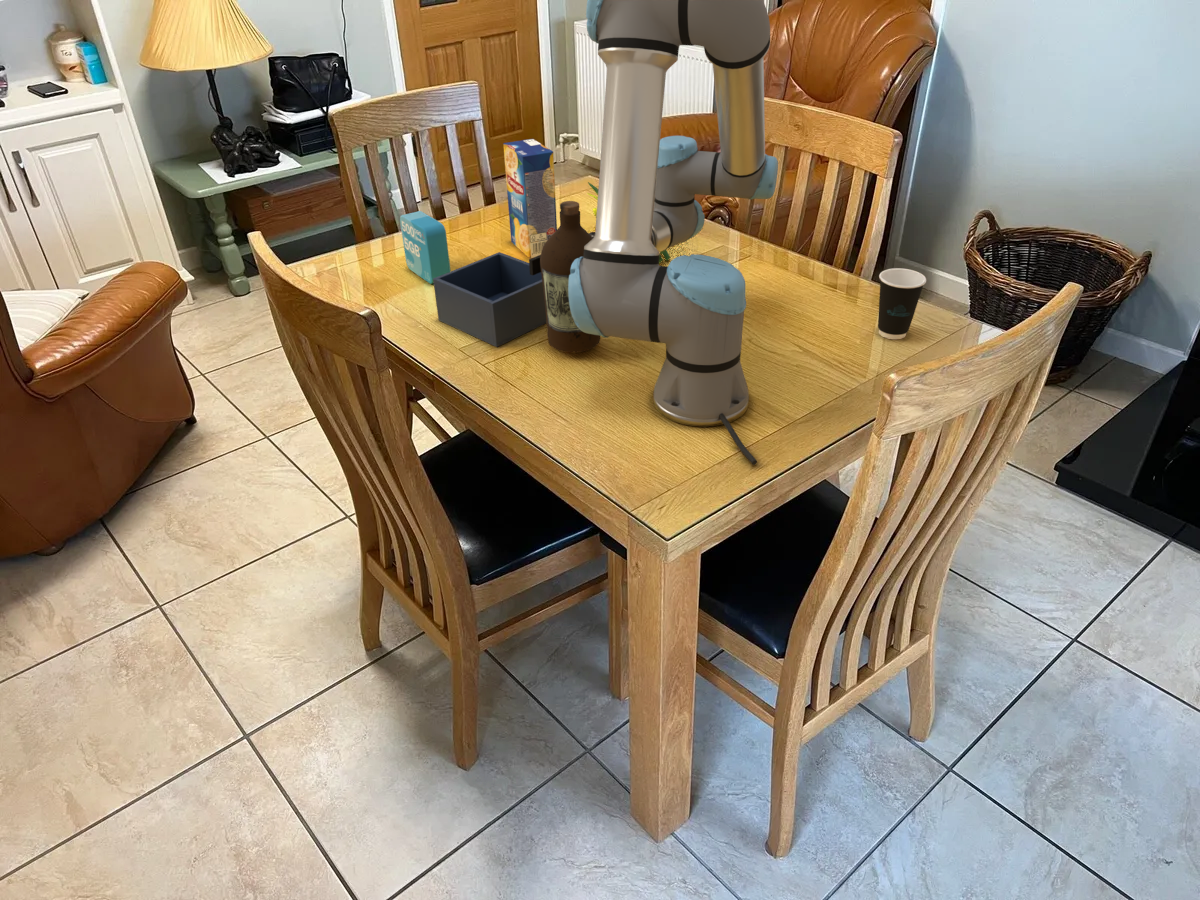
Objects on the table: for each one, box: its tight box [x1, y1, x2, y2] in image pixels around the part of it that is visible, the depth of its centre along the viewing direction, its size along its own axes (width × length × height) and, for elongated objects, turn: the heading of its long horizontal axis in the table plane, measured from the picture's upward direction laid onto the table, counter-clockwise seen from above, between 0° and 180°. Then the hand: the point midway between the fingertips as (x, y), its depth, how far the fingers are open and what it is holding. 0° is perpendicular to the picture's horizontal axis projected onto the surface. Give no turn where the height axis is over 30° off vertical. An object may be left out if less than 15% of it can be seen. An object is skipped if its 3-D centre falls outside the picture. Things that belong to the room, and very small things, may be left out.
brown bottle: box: [540, 200, 601, 353], centre depth 152 cm, size 11×11×25 cm
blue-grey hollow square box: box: [432, 251, 547, 348], centre depth 168 cm, size 17×17×9 cm
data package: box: [399, 210, 452, 285], centre depth 184 cm, size 12×4×12 cm, turn 36°
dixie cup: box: [877, 267, 927, 340], centre depth 159 cm, size 8×8×11 cm
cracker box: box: [502, 138, 558, 259], centre depth 193 cm, size 7×11×22 cm, turn 26°
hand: (554, 276), depth 149 cm, fingers closed on brown bottle, 11 cm apart
